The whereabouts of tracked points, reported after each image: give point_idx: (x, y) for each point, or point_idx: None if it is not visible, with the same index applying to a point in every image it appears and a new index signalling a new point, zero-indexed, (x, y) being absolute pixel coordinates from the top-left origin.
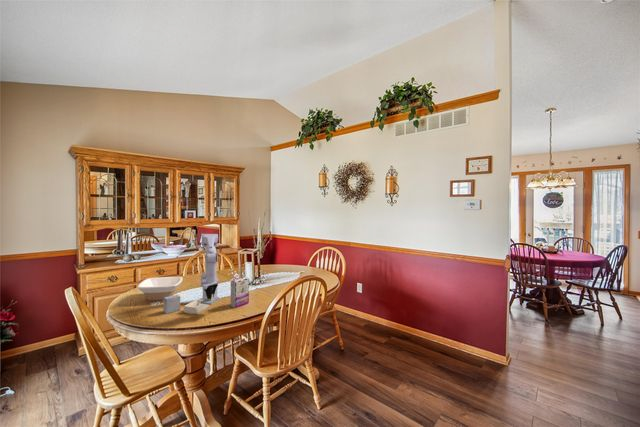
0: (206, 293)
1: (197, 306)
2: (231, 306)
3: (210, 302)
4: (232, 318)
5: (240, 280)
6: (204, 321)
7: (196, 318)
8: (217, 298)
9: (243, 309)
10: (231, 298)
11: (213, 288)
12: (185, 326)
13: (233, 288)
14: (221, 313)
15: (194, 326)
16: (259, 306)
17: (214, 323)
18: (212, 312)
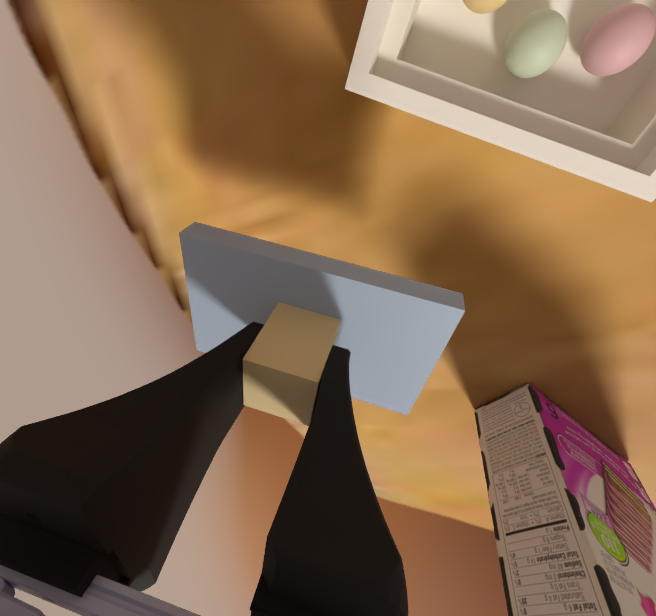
0: (183, 374)
1: (390, 97)
2: (520, 388)
3: (212, 346)
4: None
5: None
6: None
7: (261, 142)
8: (360, 400)
9: (434, 443)
10: (538, 454)
11: (162, 548)
12: (97, 100)
13: (544, 606)
14: None
15: (124, 182)
16: (471, 508)
17: None
18: (404, 258)
